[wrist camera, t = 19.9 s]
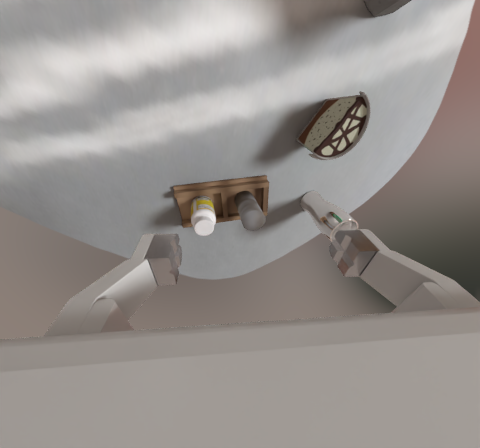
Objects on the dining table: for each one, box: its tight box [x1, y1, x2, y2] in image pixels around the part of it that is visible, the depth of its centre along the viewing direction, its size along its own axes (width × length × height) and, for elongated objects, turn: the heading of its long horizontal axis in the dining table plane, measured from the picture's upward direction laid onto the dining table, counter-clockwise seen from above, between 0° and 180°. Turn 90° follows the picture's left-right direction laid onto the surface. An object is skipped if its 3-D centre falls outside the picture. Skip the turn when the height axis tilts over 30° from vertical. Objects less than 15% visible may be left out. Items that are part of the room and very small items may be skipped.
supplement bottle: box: [191, 196, 216, 236], centre depth 42 cm, size 5×5×10 cm
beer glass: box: [300, 191, 358, 242], centre depth 46 cm, size 7×7×15 cm
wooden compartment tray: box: [174, 175, 269, 231], centre depth 43 cm, size 22×11×11 cm, turn 93°
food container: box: [296, 92, 370, 160], centre depth 37 cm, size 12×6×10 cm, turn 145°
